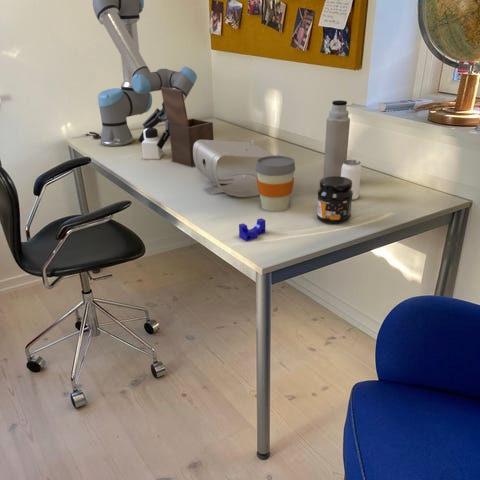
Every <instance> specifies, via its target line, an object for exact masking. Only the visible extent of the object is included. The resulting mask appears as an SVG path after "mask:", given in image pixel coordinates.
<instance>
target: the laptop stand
mask: <svg viewBox="0 0 480 480" xmlns="http://www.w3.org/2000/svg"><path fill="white" fill-rule="evenodd" d="M266 156H280V153H279V152H276V154H275V155H274V154H273V153H271V152H269V151H267V150H265V149H264V148H261V147H260V146H258V145H256V144H255V140H254V139H251V142H250V141H237V140H236V141H233V140H216V139H214V140H198V141H196V142H195V143H194V146H193V158H194V162H195V165H196V166H195V168H196V169H197V170H198V172H199V173H200V174H201V175H203V176H204V177H205V178H206V179H207V180H209V181H210V182H211V183H213V184H214V185H215V186H210V187H207V188H206V191H208V192H209V193H210V194H212V195H219V194H225V193H226V194H227V195H229V196H231V197H237V198H253V197H258V196H259V197H260V194H259V192H258V185H257V177H258V176H255V175H251V174H247V173H246V174H238V175H237V174H236V175H230V176H224V177H220V176H219V177H218V162H219V160H220V159H221V158H223V157H230V158H231V157H234V158H251V159H259V158H262V157H266ZM203 159H205V162H206V163H205V165H204V163H203Z"/></svg>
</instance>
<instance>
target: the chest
mask: <svg viewBox="0 0 480 480" xmlns="http://www.w3.org/2000/svg"><path fill="white" fill-rule="evenodd" d="M188 123H189V127H185V126H181V125H176V124H172V123H169V130H170V136H169V139H170V150H171V160H172V161H171V162H174V163H177V164H180V165H183V166H187V167H190V168H192V167H196V165H195V162H194V158H193V146H194V143H195V142H196V141H198V140H215V138H214V122H213V121H208V120H203V119H199V118H194V117H192V118H188ZM203 164H206V162H205V159H203Z"/></svg>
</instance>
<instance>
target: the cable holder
mask: <svg viewBox="0 0 480 480" xmlns="http://www.w3.org/2000/svg"><path fill="white" fill-rule="evenodd" d="M238 231H239V232H238V237H239V238H240V239H241V240H243V241H245V242H249V241H252V240H256V239H258V236H260V235H263V234H266V219H264V218H262V217H260V218H257V220H256V224H255V225H254V227H252V228H250V229H249V228H248V225H247V224H246V223H244V222H243V223H240V224H238Z"/></svg>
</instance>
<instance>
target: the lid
mask: <svg viewBox="0 0 480 480" xmlns="http://www.w3.org/2000/svg"><path fill="white" fill-rule="evenodd" d="M160 91H161V97H162V102H163V101H164V106H165V111H166V116H167V120H168V123H172V124H176V125H181V126H185V127H189V123H188V119H189V117H188V113H187V109H186V108H187V107H186V102H185V101H184V97H183V91H182V90H177V89H171V88H165V87H161V90H160Z"/></svg>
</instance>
